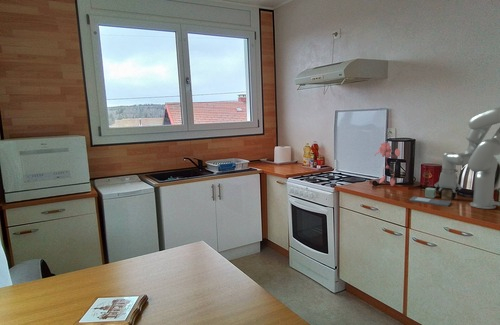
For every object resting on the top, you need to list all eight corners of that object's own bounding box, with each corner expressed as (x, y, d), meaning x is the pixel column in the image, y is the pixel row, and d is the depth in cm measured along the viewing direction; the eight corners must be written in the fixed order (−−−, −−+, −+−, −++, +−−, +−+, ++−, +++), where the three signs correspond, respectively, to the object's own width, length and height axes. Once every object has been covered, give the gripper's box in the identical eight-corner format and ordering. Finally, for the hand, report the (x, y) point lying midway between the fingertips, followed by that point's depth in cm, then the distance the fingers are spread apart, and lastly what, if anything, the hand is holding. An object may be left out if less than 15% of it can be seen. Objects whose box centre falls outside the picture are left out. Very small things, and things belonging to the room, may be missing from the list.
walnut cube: (452, 198, 212) (453, 190, 211) (451, 200, 208) (451, 192, 207) (443, 197, 216) (443, 189, 215) (441, 199, 212) (441, 191, 211)
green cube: (435, 196, 219) (436, 188, 218) (433, 198, 214) (434, 190, 214) (426, 195, 222) (427, 187, 221) (424, 196, 218) (425, 189, 217)
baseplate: (451, 202, 202) (451, 201, 202) (447, 206, 194) (447, 204, 194) (413, 197, 216) (413, 196, 216) (409, 201, 209) (409, 199, 209)
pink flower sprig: (379, 181, 271) (379, 140, 265) (404, 187, 247) (405, 142, 242) (365, 183, 265) (365, 141, 260) (389, 190, 241) (390, 144, 236)
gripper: (465, 171, 206) (463, 198, 209) (435, 169, 217) (433, 194, 220) (463, 173, 201) (461, 200, 203) (432, 170, 212) (431, 196, 215)
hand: (447, 197), depth 212 cm, fingers open, 6 cm apart
